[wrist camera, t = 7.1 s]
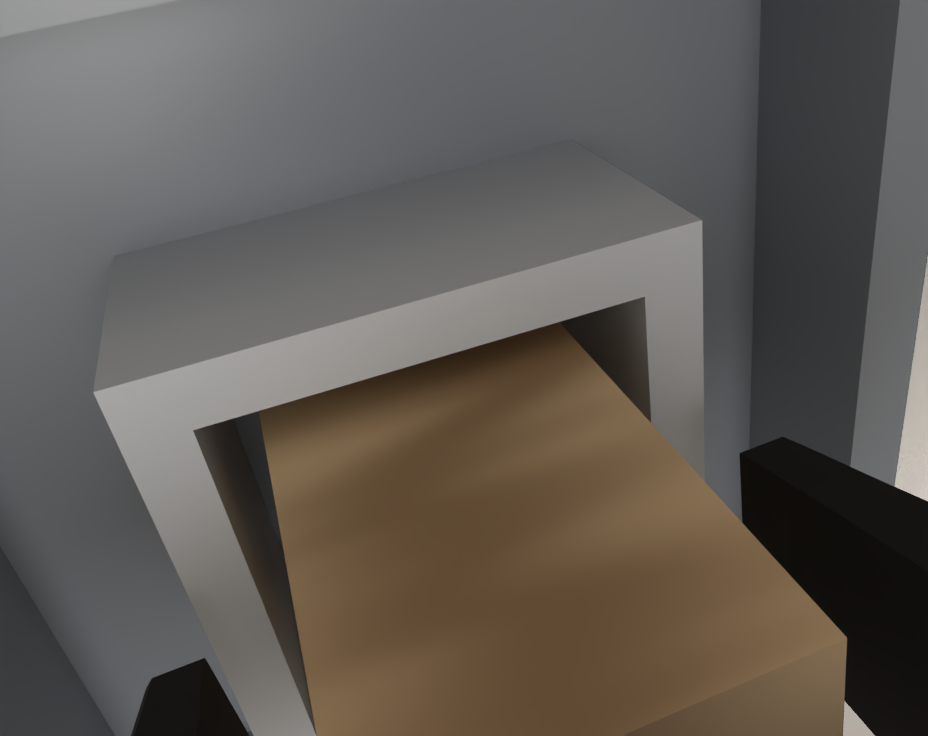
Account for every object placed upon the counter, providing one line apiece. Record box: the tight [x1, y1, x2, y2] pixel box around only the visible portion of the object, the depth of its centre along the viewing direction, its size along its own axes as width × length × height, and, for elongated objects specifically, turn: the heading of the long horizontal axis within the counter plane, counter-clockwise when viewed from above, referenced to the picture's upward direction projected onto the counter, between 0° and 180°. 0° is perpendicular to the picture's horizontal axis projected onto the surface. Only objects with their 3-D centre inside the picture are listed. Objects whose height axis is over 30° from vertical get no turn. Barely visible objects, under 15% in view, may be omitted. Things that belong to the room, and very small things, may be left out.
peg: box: [259, 322, 847, 736], centre depth 11 cm, size 4×4×9 cm
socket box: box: [0, 0, 928, 736], centre depth 14 cm, size 16×16×5 cm
